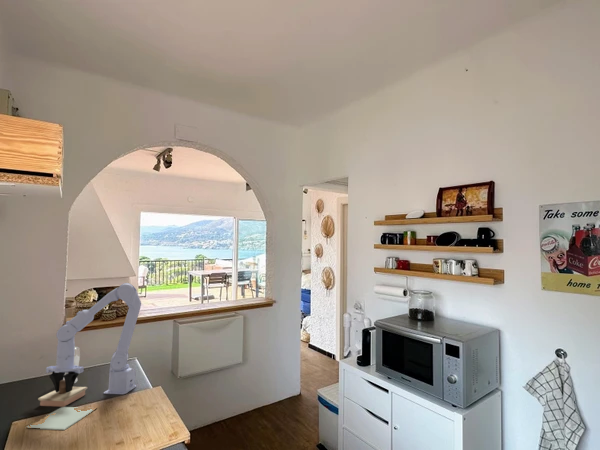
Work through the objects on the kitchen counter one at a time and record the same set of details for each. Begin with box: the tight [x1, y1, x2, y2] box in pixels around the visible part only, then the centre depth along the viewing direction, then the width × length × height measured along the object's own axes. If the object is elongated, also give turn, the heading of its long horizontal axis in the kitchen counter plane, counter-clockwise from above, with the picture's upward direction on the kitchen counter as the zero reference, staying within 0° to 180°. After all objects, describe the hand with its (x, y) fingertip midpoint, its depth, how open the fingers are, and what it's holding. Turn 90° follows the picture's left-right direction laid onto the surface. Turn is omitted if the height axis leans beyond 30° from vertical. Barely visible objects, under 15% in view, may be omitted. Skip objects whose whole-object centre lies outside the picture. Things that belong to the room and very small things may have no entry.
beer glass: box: [63, 345, 81, 384], centre depth 142 cm, size 7×7×15 cm
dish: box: [39, 390, 86, 408], centre depth 124 cm, size 10×10×2 cm
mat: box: [26, 406, 94, 431], centre depth 110 cm, size 14×14×1 cm
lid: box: [37, 379, 88, 401], centre depth 125 cm, size 11×11×5 cm
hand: (63, 391), depth 124 cm, fingers open, 4 cm apart
